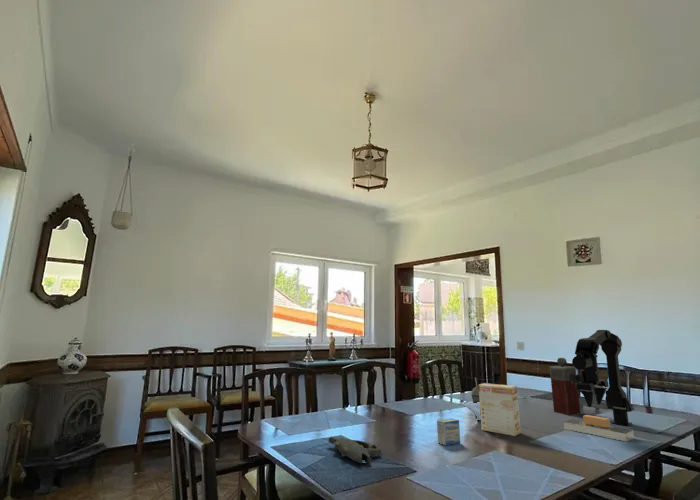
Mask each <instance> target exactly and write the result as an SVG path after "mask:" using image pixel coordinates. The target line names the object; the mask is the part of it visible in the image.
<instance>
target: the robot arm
mask: <svg viewBox="0 0 700 500" xmlns="http://www.w3.org/2000/svg"><path fill="white" fill-rule="evenodd" d="M622 346H623V342H622V340H621V338H620V337H619V336H618V335H617V334H614V333H612V332H611V331H610V330H608V329H597V330H596V331H595V332H594V333H593V334H591V335H590V336H589V337H582V338H579V339H578V341H576V347H575V351H574V355H575V356H574V357H573V358H572V360H571V364H572V367H575V368H576V370H579V371H580V373H579V374H578V373H576V374H574V373H572V374H569V380H570V381H571V382H572V384H574V383H576V384H575V386H576V389H578V391H579V393H581V394H582V395H583V397H584V400H585V402H586V404H587V407H588V408H592V406H593V404H594V403H593V401H594V398H595V401H596V404H597V405H601V404H602V401H603V400H604V397H605V403H606V407H607V410H612V416H613V420H612V421H610V424H614V425H618V426H619V425H620V426H625V427H628V426H630V425H632V423H633V422H629V415H628V413H630V412H633V407H632V403H631V402H630V400H629V399H628V397H627V393H626V391H625V390H624V388H622V381H621V379H622V378H621V371H620V364H619V363H620V362H619V355H620V353H621V351H622ZM600 347H601V350H602V352H603V353H604V355H605V357H606V366H607V368H606V369H607V377H608V381H607V380H605V379H600V377H599V376H600V375H599V374H601V371H600V370H599V367H598V356H599V355H597V354H598V351H599V349H600Z"/></svg>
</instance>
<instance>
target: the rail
mask: <svg viewBox="0 0 700 500" xmlns="http://www.w3.org/2000/svg"><path fill="white" fill-rule="evenodd" d="M563 428H564V430H568V431H572V432H576V431H577V433H581V432H582V433H583V434H586V433H588V434H587V435H591V434H593V436H596V435H597V437H601V436H602V437H601V438H607V439H612V440H615V439H616V441H620V440H621V442H626V443H628V442H629V441H632V440H633V439H635V434H634V430H632V429H627V428H621V427H617V426H613V425H610V426H609V428H608V429H605V428H601V426H596V425H593V426H589V425H586V424H585V423H584V420H579V419H569V420H566V421H563Z"/></svg>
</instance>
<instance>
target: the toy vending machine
mask: <svg viewBox="0 0 700 500" xmlns="http://www.w3.org/2000/svg"><path fill="white" fill-rule="evenodd" d="M556 363H557V365H552V366H549V374H550V375H549V376H550V382H551V383H550V385H551V395H552V406H553V412H554V413H557V414H560V415H561V414H562V415H565V416H566V415H567V416H573V415H581V413H582V412H581V406H580V399H581V397H580V391H578V389H576V386H575V384H576V383H574V384H572V382H571V381H570V380H569V374H572V373H574V374H576V375H577V369H576V368H575V367H574V366H570V365H569V366H567V363H568V362H567V359H566V358H565V357H558V358H557V360H556Z"/></svg>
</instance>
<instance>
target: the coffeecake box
mask: <svg viewBox="0 0 700 500" xmlns="http://www.w3.org/2000/svg"><path fill="white" fill-rule="evenodd" d="M478 387H479V400H480V415H481V421H480V427H481V431H486V432H492V433H497V434H502V435H507V436H512V437H516V436H517V435H520V434H521V433H522V431H521V430H522V429H521V419H520V408H519V407H520V406H519V395H518V386H517V385H508V384H497V383H489V382H483V383H480V384H478Z"/></svg>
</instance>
